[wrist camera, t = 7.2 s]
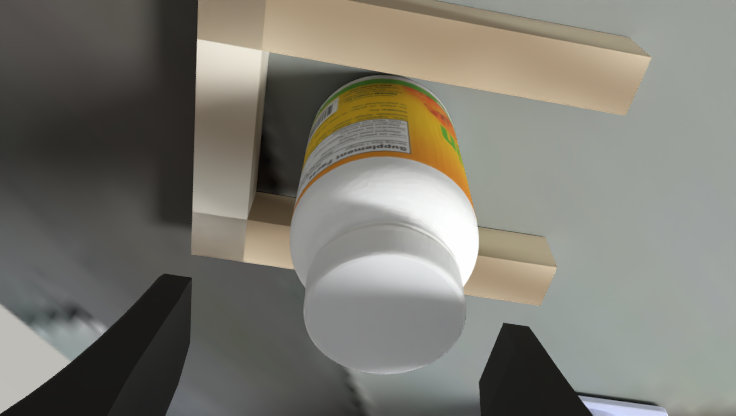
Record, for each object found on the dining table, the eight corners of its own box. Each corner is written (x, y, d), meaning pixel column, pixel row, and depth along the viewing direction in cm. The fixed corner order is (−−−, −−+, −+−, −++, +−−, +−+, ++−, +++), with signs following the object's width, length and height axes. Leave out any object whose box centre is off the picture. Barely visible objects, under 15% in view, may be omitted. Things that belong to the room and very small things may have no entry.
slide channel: (529, 274, 26) (540, 305, 25) (203, 224, 25) (191, 254, 23) (629, 37, 21) (651, 57, 19) (214, -42, 19) (198, -28, 18)
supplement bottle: (462, 187, 24) (506, 380, 16) (329, 210, 25) (305, 406, 16) (443, 57, 21) (486, 210, 13) (294, 86, 22) (244, 249, 14)
